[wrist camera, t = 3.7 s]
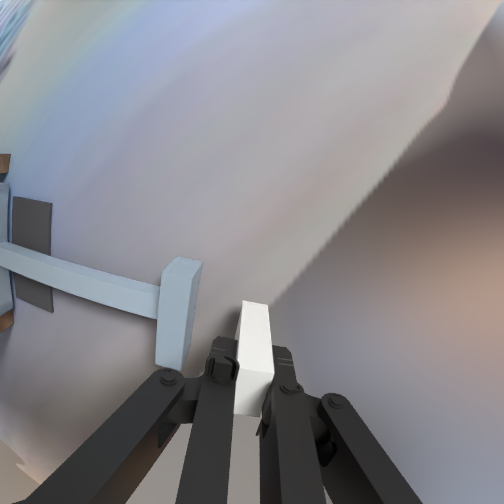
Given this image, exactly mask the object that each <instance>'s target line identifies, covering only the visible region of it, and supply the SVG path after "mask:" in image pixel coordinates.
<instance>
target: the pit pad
mask: <svg viewBox="0 0 504 504" xmlns="http://www.w3.org/2000/svg"><path fill="white" fill-rule="evenodd" d="M51 215H52V203H47V202H42V201H37V200H31V199H26V198H21V197H13V209H12V244H15V245H18V246H21V247H24V248H27V249H30V250H33V251H36V252H39V253H42V254H45V255H48V256H50V239H51ZM14 281H15V290H16V297H18V298H20V299H22V300H24V301H26V302H28V303H31V304H33V305H35V306H37V307H40V308H42V309H44V310H47V311H49V312H51V313H52V312H53V300H52V287H51V286H49V285H46V284H43V283H41V282H38V281H36V280H33V279H31V278H28V277H26V276H23V275H21V274H18V273H16V272H14Z"/></svg>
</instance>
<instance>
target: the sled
mask: <svg viewBox="0 0 504 504" xmlns="http://www.w3.org/2000/svg"><path fill="white" fill-rule="evenodd" d="M8 193H9V183H2V182H0V316H1V315H3V314H4V313H6V312H7V311H9V310H10V309H12V308H13V301H12V294H11V286H10V277H9V270H11V271H14V272H16V273H18V274H21V275H23V276H26V277H28V278H31V279H33V280H36V281H38V282H41V283H43V284H46V285H49V286H51V287H54V288H57V289H60V290H62V291H65V292H68V293H71V294H74V295H77V296H80V297H83V298H86V299H89V300H92V301H95V302H98V303H101V304H104V305H107V306H111V307H114V308H117V309H121V310H124V311H128V312H131V313H135V314H138V315H142V316H145V317H149V318H153V319H157V335H156V354H155V364H156V365H160V366H163V367H167V368H171V369H175V370H179V371H181V369H182V366H183V363H184V360H185V358H186V355H187V352H188V350H189V347H190V343H191V336H192V328H193V321H194V314H195V307H196V300H197V294H198V287H199V281H200V275H201V269H202V263H203V262H202V261H197V260H193V259H188V258H183V257H179V256H177V257H176V258H175V259H174V260H173V261H172V262H171V263H170V264H169V265H168V266H167V267H166V268H165V269H164V270H163V271H162V276H161V286H157V285H153V284H148V283H144V282H141V281H137V280H133V279H129V278H125V277H121V276H117V275H114V274H110V273H106V272H103V271H99V270H96V269H92V268H89V267H85V266H82V265H78V264H75V263H71V262H68V261H65V260H61V259H58V258H55V257H52V256H48V255H45V254H42V253H39V252H36V251H33V250H30V249H27V248H24V247H21V246H18V245H15V244H12V243H9V242H7V212H8Z"/></svg>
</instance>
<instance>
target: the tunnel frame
mask: <svg viewBox="0 0 504 504" xmlns="http://www.w3.org/2000/svg"><path fill="white" fill-rule="evenodd" d="M9 161H10V154H0V173H8V169H9ZM13 323H14V320H13V315H12V309H10V310H9V311H7V312H6V313H4V314H3V315H1V316H0V333H1V332H2V331H4V330H5V329H6V328H8V327H9V326H10V325H12V324H13Z"/></svg>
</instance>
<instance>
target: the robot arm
mask: <svg viewBox="0 0 504 504" xmlns="http://www.w3.org/2000/svg"><path fill="white" fill-rule="evenodd" d="M261 411H262V419H261V422H260V424H259V427H258V430H257V432H256V436H258V435H259V436H260V437H259V438H260V504H326V498H325V493H324V488H323V485H324V487H325V489H326V491H327V493H328V495H329V497H330V499H331V500H332V503H333V504H423V503H422V502H421V501H420V499H419V498H418V496H417V495H416V494H415V492H414V491H413V490H412V488H411V487H410V486H409V484H408V483H407V482H406V480H405V479H404V477H403V476H402V475H401V473H400V472H399V470H398V469H397V468H396V466H395V465H394V463H393V462H392V461H391V459H390V458H389V456H388V455H387V454H386V452H385V451H384V450H383V448H382V447H381V446H380V444H379V443H378V441H377V440H376V439H375V437H374V436H373V434H372V433H371V431H370V430H369V429H368V427H367V426H366V424H365V423H364V422H363V420H362V419H361V417H360V416H359V415H358V413H357V412H356V410H355V409H354V408H353V406H352V405H351V404H350V402H349V401H348V400H347V399H346V398H345V397H344V396H342V395H340V394H336V393H328V394H325V395H324V396H322V398H321V399H320V398H316V397H313V396H310V395H308V394H306V393H304V389H303V387H302V386H301V385H300V384H298V383H297V380H296V376H295V370H294V366H293V361H292V355H291V353H290V351H289V350H288V349H287V348H286V347H280V346H274V345H272V344H271V334H270V324H269V314H268V305H264V304H259V303H254V302H248V301H243V302H242V307H241V312H240V316H239V321H238V326H237V330H236V335H235V339H230V338H225V337H220V336H218V337H217V338H216V339H215V340H213V344H212V348H211V352H210V356H209V357H208V358H207V360H206V366H205V372H204V374H203V375H202V376H200V377H197V378H184V377H183V375H182V374H181V373H179V372H178V371H176V370H172V369H159V370H157V371H155V372H154V373H153V374H152V375H151V376H150V377H149V378H148V379H147V380H146V381H145V382H144V383H143V384H142V385H141V386H140V387H139V388H138V389H137V390H136V391H135V392H134V393H133V394H132V395H131V396H130V397H129V398H128V399H127V400H126V401H125V402H124V403H123V404H122V405H121V406H120V407H119V408H118V409H117V410H116V411H115V412H114V413H113V414H112V415H111V416H110V417H109V418H108V419H107V420H106V421H105V422H104V423H103V424H102V425H101V426H100V427H99V428H98V429H97V430H96V431H95V432H94V433H93V434H92V435H91V436H90V437H89V438H88V439H87V440H86V441H85V442H84V443H83V444H82V445H81V446H80V447H79V448H78V449H77V450H76V451H75V452H74V453H73V454H72V455H71V456H70V457H69V458H68V459H67V460H66V461H65V462H64V463H63V464H62V465H61V466H60V467H59V468H58V469H57V470H56V471H55V472H53V473H52V474H51V475H50V476H49V477H48V478H47V479H46V480H45V481H44V482H43V483H42V484H41V485H40V486H39V487H38V488H37V489H36V490H35V491H34V492H33V493H32V494H31V495H30V496H29V497H27V498H26V499H25V500H22V501H19V502H16V503H13V504H125V503H126V502H127V500H128V499H129V498H130V496H131V495H132V494H133V492H134V491H135V489H136V488H137V486H138V485H139V484H140V483H141V481H142V480H143V478H144V477H145V476H146V474H147V473H148V471H149V470H150V469H151V467H152V466H153V464H154V463H155V462H156V460H157V459H158V457H159V456H160V454H161V453H162V452H163V450H164V449H165V447H166V446H167V444H168V443H169V441H170V440H171V438H172V437H173V436H174V434H175V433H176V431H177V429H178V428H179V427H180V425H181V424H187V423H193V425H192V429H191V434H190V438H189V443H188V448H187V452H186V456H185V461H184V465H183V470H182V474H181V479H180V484H179V488H178V493H177V498H176V503H175V504H227V495H228V481H229V468H230V454H231V441H232V429H233V428H232V427H233V415H234V414H240V415H246V416H254V417H260V414H261Z"/></svg>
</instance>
